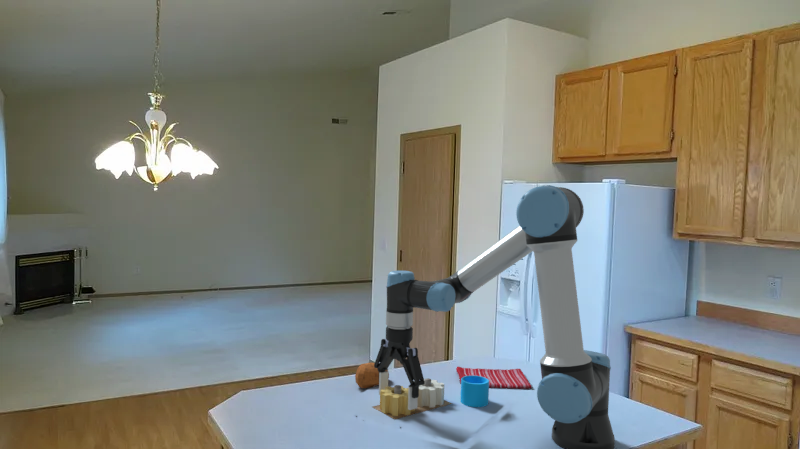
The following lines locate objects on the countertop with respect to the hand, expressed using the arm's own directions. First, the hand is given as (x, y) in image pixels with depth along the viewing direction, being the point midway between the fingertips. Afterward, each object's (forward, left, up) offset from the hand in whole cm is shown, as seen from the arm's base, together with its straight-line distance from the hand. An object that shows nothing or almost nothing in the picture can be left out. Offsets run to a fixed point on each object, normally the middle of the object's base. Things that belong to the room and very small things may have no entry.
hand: (397, 401), depth 155 cm
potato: (+24, -8, -4) cm, 25 cm away
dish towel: (+7, -46, -4) cm, 46 cm away
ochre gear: (0, 0, -2) cm, 2 cm away
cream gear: (0, -11, -2) cm, 11 cm away
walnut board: (0, -6, -4) cm, 7 cm away
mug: (-6, -24, -4) cm, 25 cm away
